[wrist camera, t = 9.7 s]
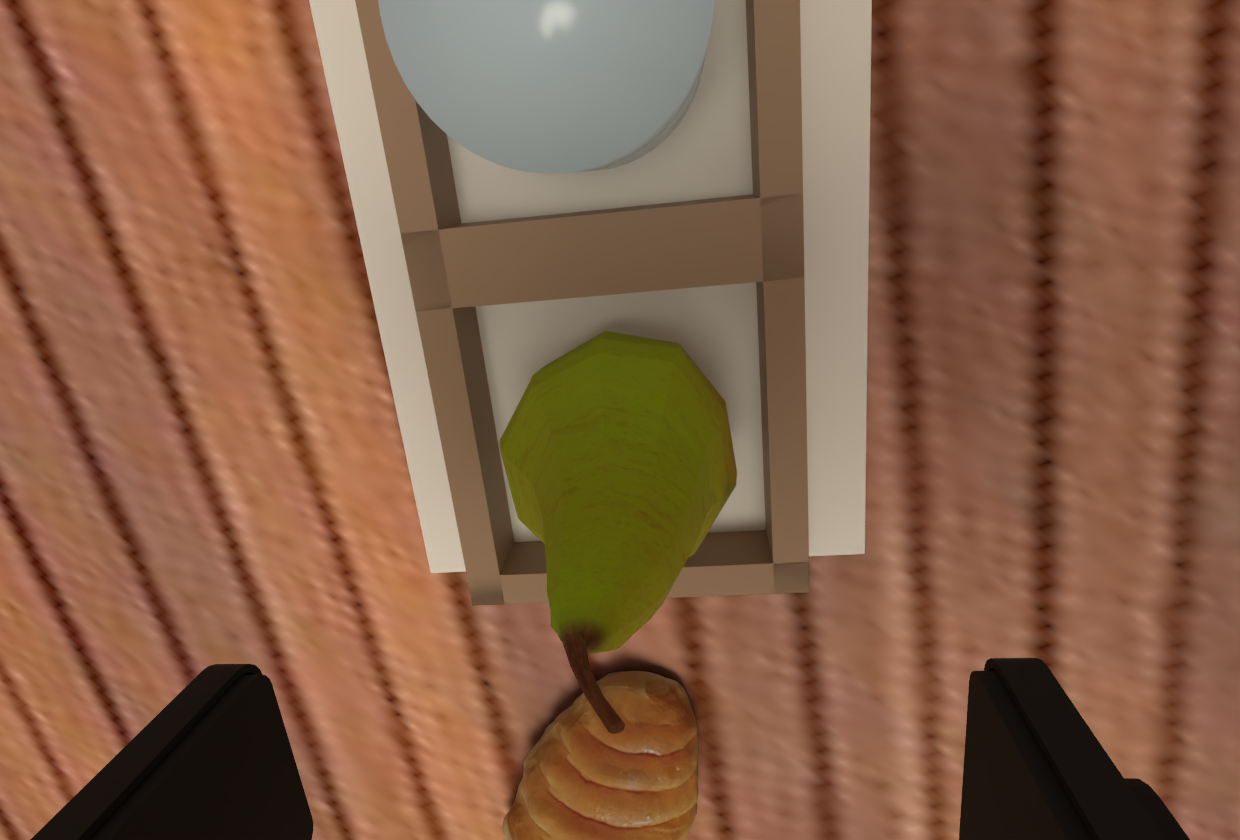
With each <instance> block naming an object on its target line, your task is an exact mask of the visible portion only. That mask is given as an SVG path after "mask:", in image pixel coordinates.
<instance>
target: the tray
mask: <svg viewBox="0 0 1240 840" xmlns="http://www.w3.org/2000/svg"><path fill="white" fill-rule="evenodd" d="M309 2H310V7H311V11H312V16H313V21H314V25H315V30H316V35H317V40H318V44H319V49H320V54H321V58H322V63H323V68H324V72H325V77H326V82H327V87H328V91H329V96H330V101H331V105H332V110H333V115H334V120H335V124H336V129H337V134H338V138H339V143H340V148H341V152H342V157H343V162H344V167H345V171H346V176H347V181H348V185H349V190H350V195H351V199H352V204H353V209H354V214H355V218H356V223H357V228H358V232H359V237H360V242H361V246H362V251H363V256H364V261H365V265H366V270H367V275H368V279H369V284H370V289H371V293H372V298H373V303H374V308H375V312H376V317H377V322H378V326H379V331H380V336H381V340H382V345H383V350H384V355H385V359H386V364H387V369H388V373H389V378H390V383H391V388H392V392H393V397H394V402H395V406H396V411H397V416H398V420H399V425H400V430H401V435H402V439H403V444H404V449H405V453H406V458H407V463H408V467H409V472H410V477H411V482H412V486H413V491H414V496H415V500H416V505H417V510H418V514H419V519H420V524H421V529H422V533H423V538H424V543H425V547H426V552H427V557H428V561H429V566H430V571H431V573H443V572H466V574H467V579H468V584H469V589H470V594H471V599H472V605H497V604H522V603H548V602H549V600H548V595H547V564H546V553H545V544H544V543H543V542H542V541H541V540H540V539H539V538H538V537H537V536H536V535H535V534H534V533H532V532H531V531H530V530H529V529H528V528H527V527H526V526H525V525H524V524H523V523H522V522H521V521H520V520H519V519H518V516H517V513H516V510H515V506H514V502H513V498H512V494H511V490H510V487H509V483H508V479H507V475H506V471H505V467H504V463H503V459H502V455H501V451H500V442H499V441H500V439H501V437H502V435H503V433H504V431H505V429H506V427H507V425H508V423H509V421H510V419H511V417H512V415H513V413H514V411H515V409H516V408H517V406H518V404H519V402H520V400H521V398H522V396H523V394H524V392H525V390H526V388H527V386H528V384H529V382H530V380H531V378H532V376H533V375H534V374H535V373H536V372H538V371H539V370H540V369H541V368H542V367H544V366H546V365H547V364H549V363H551V362H553V361H554V360H556V359H558V358H559V357H561V356H563V355H565V354H566V353H568V352H570V351H571V350H573V349H575V348H577V347H578V346H580V345H582V344H583V343H585V342H587V341H589V340H590V339H592V338H594V337H595V336H597V335H599V334H601V333H602V332H604V331H610V332H616V333H622V334H627V335H633V336H639V337H645V338H651V339H656V340H662V341H668V342H674V343H679V344H680V345H681V346H682V347H683V349H684V350H685V351H686V352H687V354H688V355H689V356H690V357H691V359H692V360H693V361H694V363H695V364H696V365H697V366H698V368H699V369H700V370H701V371H702V373H703V374H704V375H705V376H706V378H707V379H708V380H709V381H710V383H711V384H712V385H713V386H714V388H715V389H716V390H717V391H718V393H719V394H720V395H721V397H722V398H723V399H724V400H725V402H726V407H727V414H728V420H729V426H730V432H731V438H732V444H733V450H734V456H735V462H736V468H737V480H736V486H735V488H734V490H733V491H732V493H731V495H730V496H729V498H728V500H727V501H726V503H725V505H724V506H723V508H722V510H721V511H720V513H719V515H718V516H717V518H716V520H715V521H714V523H713V525H712V526H711V528H710V530H709V531H708V533H707V535H706V536H705V538H704V540H703V541H702V543H701V545H700V546H699V548H698V549H697V551H696V552H695V554H694V555H692V556H691V557H689V558H688V559H687V561H686V563H685V565H684V567H683V568H682V570H681V572H680V574H679V576H678V577H677V579H676V581H675V583H674V584H673V586H672V588H671V590H670V592H669V593H668V595H667V597H666V598H677V597H703V596H728V595H754V594H780V593H806V592H810V590H809V556H826V555H849V554H865V493H866V413H867V333H868V253H869V173H870V93H871V13H872V0H715V3H714V11H713V19H712V25H711V30H710V36H709V41H708V46H707V51H706V56H705V62H704V66H703V71H702V75H701V79H700V83H699V85H698V88H697V91H696V93H695V96H694V99H693V101H692V102H691V104H690V106H689V108H688V110H687V112H686V114H685V115H684V117H683V118H682V120H681V121H680V123H679V124H678V125H677V127H676V128H675V129H674V130H673V131H672V132H671V134H670V135H669V136H668V137H667V138H666V139H665V140H664V141H663V142H661V143H660V144H659V145H658V146H657V147H656V148H654V149H653V150H651V151H650V152H648V153H647V154H645V155H644V156H642V157H641V158H638V159H636V160H634V161H632V162H630V163H628V164H625V165H622V166H619V167H616V168H611V169H606V170H600V171H586V172H572V173H551V174H542V173H532V172H523V171H519V170H515V169H511V168H507V167H503V166H501V165H498V164H496V163H493V162H491V161H488V160H485V159H483V158H482V157H480V156H478V155H476V154H474V153H473V152H471V151H469V150H467V149H465V148H464V147H463V146H461V145H460V144H459V143H457V142H456V141H455V140H453V139H452V138H450V137H449V136H448V135H447V134H446V133H445V132H444V131H443V130H442V129H440V128H439V127H438V126H437V125H436V124H435V123H434V122H433V121H432V120H431V119H430V117H429V116H428V115H427V114H426V113H425V111H424V110H423V109H422V108H421V107H420V105H419V104H418V103H417V101H416V100H415V98H414V97H413V95H412V94H411V92H410V91H409V89H408V88H407V86H406V84H405V83H404V81H403V79H402V77H401V75H400V73H399V71H398V69H397V67H396V65H395V63H394V60H393V57H392V54H391V52H390V49H389V46H388V44H387V41H386V37H385V33H384V29H383V25H382V21H381V17H380V11H379V3H378V0H309Z"/></svg>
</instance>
